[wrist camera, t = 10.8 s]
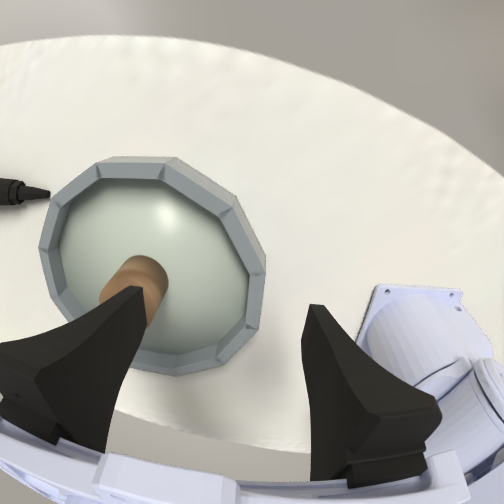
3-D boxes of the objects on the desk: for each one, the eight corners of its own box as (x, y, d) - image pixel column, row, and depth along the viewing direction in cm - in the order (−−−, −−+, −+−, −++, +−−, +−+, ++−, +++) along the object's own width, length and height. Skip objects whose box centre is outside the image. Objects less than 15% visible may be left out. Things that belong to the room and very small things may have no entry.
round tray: (276, 164, 19) (278, 170, 17) (251, 365, 27) (250, 385, 24) (46, 159, 19) (27, 166, 16) (79, 336, 26) (69, 352, 24)
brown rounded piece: (174, 266, 21) (157, 296, 18) (162, 306, 23) (147, 339, 19) (125, 247, 21) (101, 273, 17) (118, 289, 23) (97, 318, 19)
